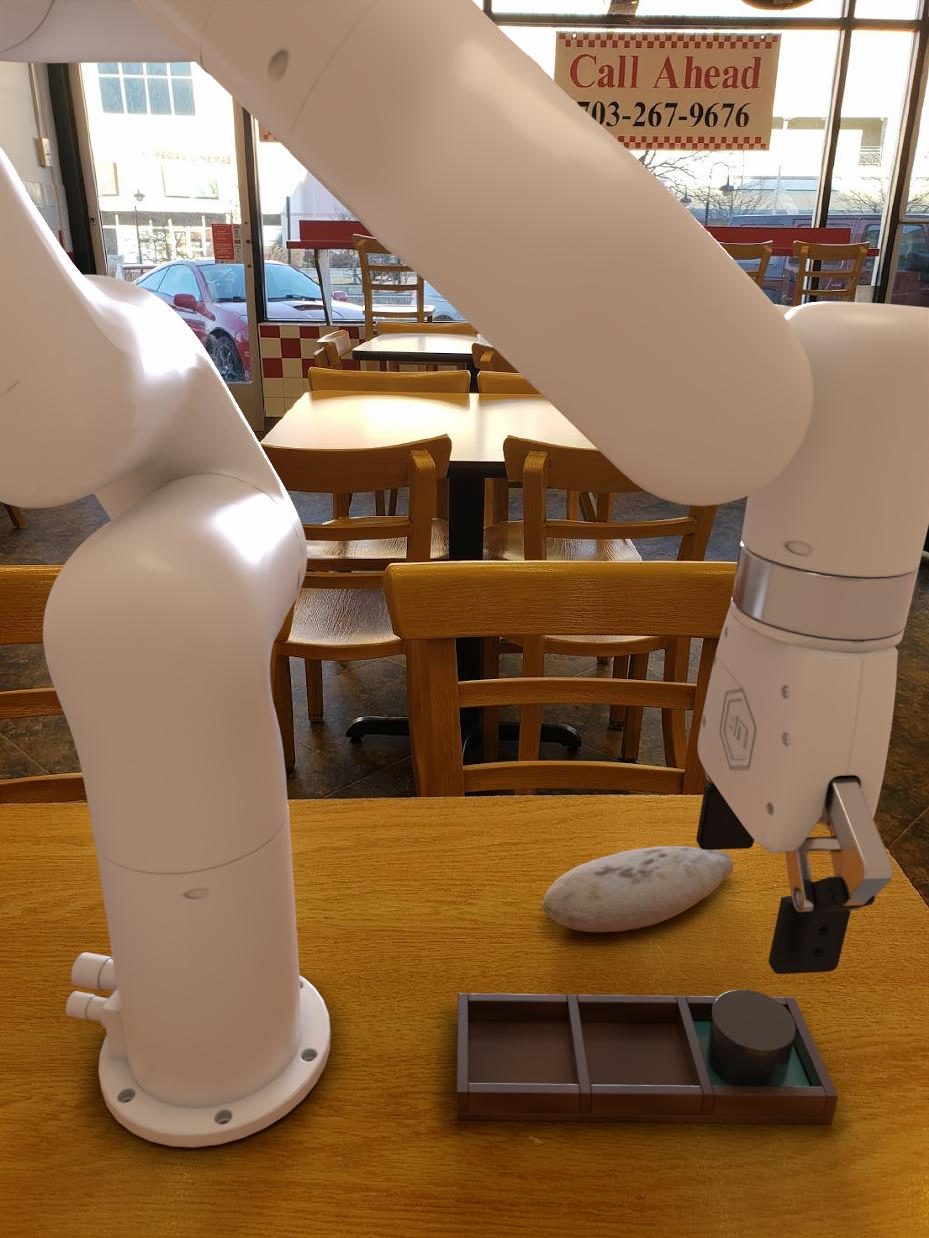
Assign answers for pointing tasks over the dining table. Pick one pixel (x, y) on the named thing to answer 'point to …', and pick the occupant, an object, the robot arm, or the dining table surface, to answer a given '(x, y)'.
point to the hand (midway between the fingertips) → (759, 901)
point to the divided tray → (619, 1063)
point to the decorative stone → (635, 887)
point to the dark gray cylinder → (750, 1039)
